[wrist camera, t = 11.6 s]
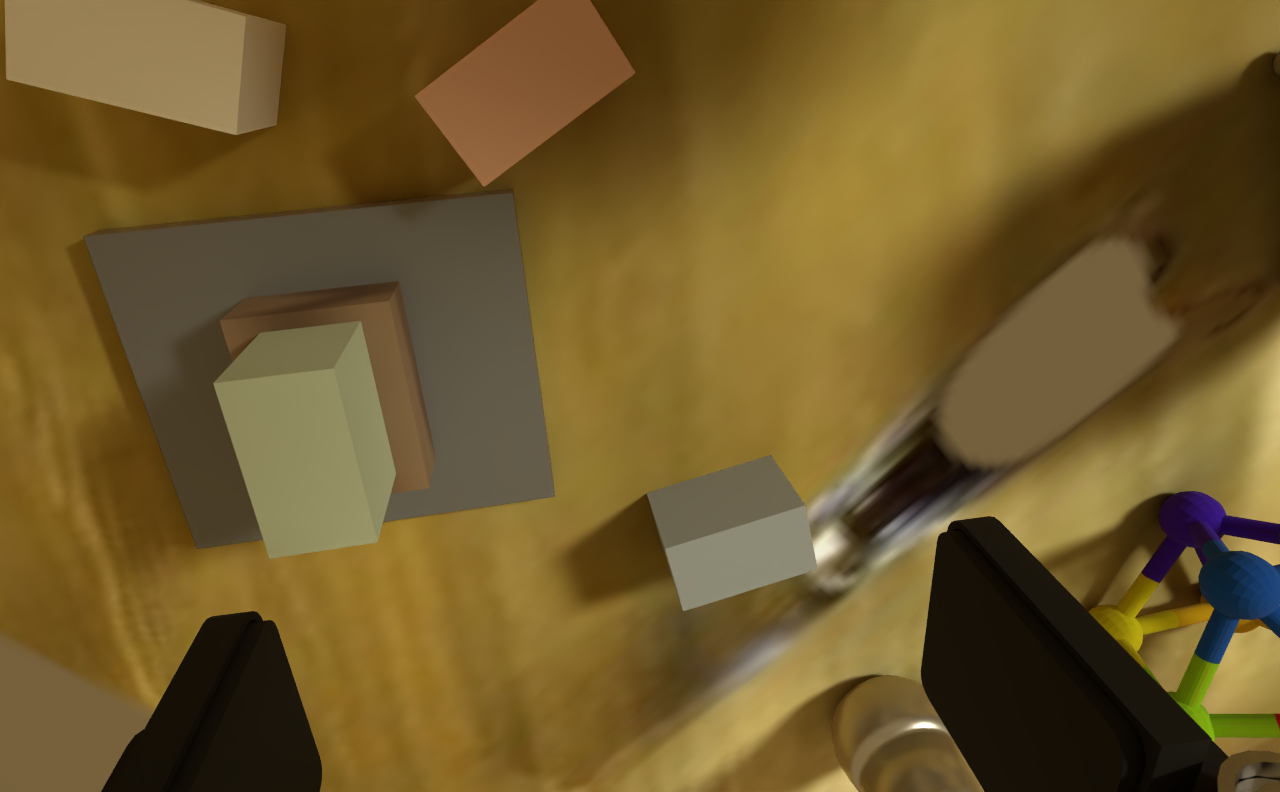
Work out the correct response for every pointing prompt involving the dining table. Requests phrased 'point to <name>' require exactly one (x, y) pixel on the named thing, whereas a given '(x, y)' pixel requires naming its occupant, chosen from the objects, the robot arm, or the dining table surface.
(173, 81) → the brick cream
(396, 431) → the brick walnut
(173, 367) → the slate board
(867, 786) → the plastic bottle
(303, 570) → the dining table surface
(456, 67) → the brick terracotta
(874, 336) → the dining table surface
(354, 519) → the brick sage
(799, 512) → the grey block
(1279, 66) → the tabletop clock
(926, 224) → the dining table surface
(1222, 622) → the educational toy
